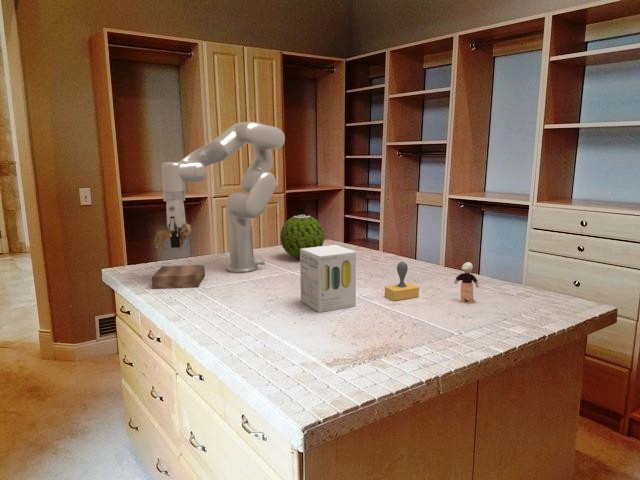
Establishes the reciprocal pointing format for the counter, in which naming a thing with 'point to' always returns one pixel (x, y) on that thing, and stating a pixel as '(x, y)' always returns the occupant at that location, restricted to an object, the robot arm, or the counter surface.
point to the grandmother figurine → (467, 283)
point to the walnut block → (178, 277)
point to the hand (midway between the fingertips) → (177, 245)
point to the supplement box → (328, 277)
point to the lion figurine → (162, 235)
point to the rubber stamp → (401, 286)
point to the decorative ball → (301, 234)
